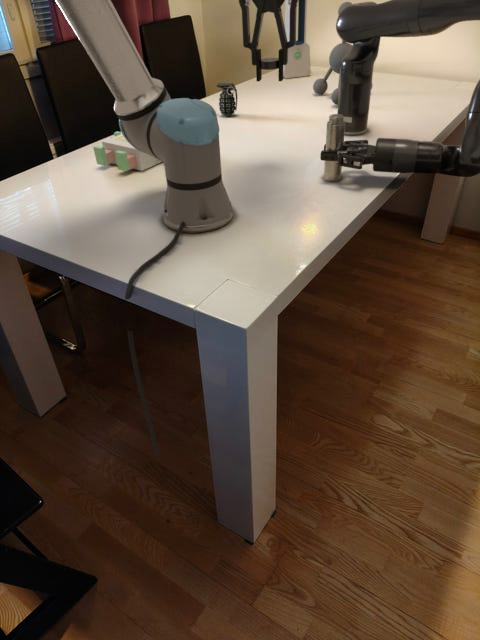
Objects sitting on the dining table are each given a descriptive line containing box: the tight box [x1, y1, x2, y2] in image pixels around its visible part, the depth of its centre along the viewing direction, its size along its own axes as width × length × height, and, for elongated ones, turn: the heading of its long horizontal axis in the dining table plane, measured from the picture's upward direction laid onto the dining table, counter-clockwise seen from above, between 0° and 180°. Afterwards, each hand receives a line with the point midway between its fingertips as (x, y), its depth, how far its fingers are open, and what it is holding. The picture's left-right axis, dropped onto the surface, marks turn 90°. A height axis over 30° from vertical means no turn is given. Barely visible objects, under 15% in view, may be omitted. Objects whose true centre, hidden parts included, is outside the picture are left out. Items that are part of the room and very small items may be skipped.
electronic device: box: [280, 0, 312, 79], centre depth 204 cm, size 12×8×30 cm, turn 105°
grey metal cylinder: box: [323, 113, 345, 182], centre depth 117 cm, size 4×4×15 cm
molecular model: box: [312, 1, 373, 106], centre depth 171 cm, size 24×22×30 cm
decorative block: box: [92, 131, 163, 172], centre depth 138 cm, size 26×6×20 cm
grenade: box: [215, 82, 238, 117], centre depth 166 cm, size 7×6×10 cm
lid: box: [260, 57, 279, 71], centre depth 116 cm, size 5×5×2 cm
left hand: (270, 79), depth 118 cm, fingers closed on lid, 5 cm apart
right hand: (322, 151), depth 118 cm, fingers closed on grey metal cylinder, 4 cm apart
